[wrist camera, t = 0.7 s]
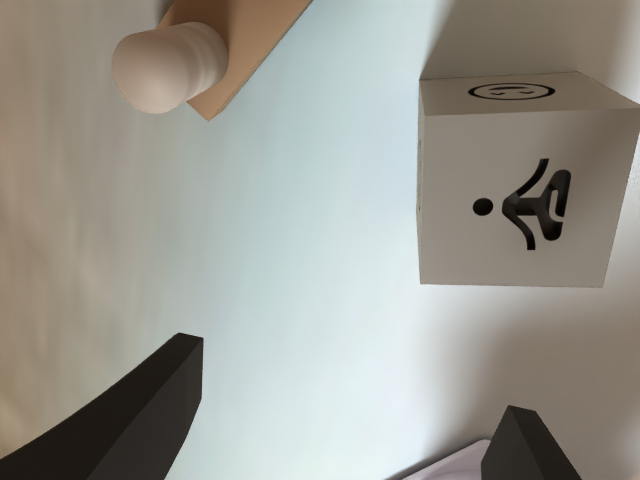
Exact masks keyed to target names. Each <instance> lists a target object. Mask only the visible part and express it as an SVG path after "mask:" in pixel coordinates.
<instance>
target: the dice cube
mask: <svg viewBox="0 0 640 480" xmlns="http://www.w3.org/2000/svg"><path fill="white" fill-rule="evenodd" d="M639 132H640V105H639V104H637V103H636V102H634V101H632V100H630V99H628V98H626V97H624V96H622V95H621V94H619V93H617V92H615V91H613V90H611V89H609V88H607V87H606V86H604V85H602V84H600V83H598V82H596V81H594V80H593V79H591V78H589V77H587V76H585V75H583V74H581V73H579V72H563V73H543V74H523V75H503V76H483V77H463V78H443V79H424V80H419V104H418V154H417V204H416V217H417V235H418V253H419V271H420V284H438V285H489V286H539V287H590V288H602V287H603V283H604V278H605V274H606V270H607V266H608V262H609V257H610V253H611V249H612V245H613V241H614V237H615V232H616V228H617V224H618V220H619V216H620V211H621V207H622V203H623V199H624V195H625V190H626V186H627V182H628V178H629V174H630V169H631V165H632V161H633V157H634V153H635V148H636V144H637V140H638V136H639Z"/></svg>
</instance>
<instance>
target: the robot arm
mask: <svg viewBox="0 0 640 480" xmlns="http://www.w3.org/2000/svg"><path fill="white" fill-rule="evenodd" d="M203 339H204V338H202V337H197V336H193V335H188V334H184V333H177V334H176V335H174V336H173V337H172V338H171V339H169V340H168V341H167V342H166V343H165V344H163V345H162V346H161V347H160V348H159V349H158V350H156V351H155V352H154V353H153V354H152V355H150V356H149V357H148V358H147V359H146V360H144V361H143V362H142V363H141V364H139V365H138V366H137V367H136V368H134V369H133V370H132V371H131V372H129V373H128V374H127V375H126V376H124V377H123V378H122V379H120V380H119V381H118V382H116V383H115V384H114V385H113V386H111V387H110V388H109V389H107V390H106V391H105V392H103V393H102V394H101V395H99V396H98V397H97V398H95V399H94V400H92V401H91V402H90V403H88V404H87V405H85V406H84V407H82V408H81V409H80V410H78V411H77V412H75V413H74V414H73V415H71V416H70V417H68V418H67V419H65V420H64V421H62V422H61V423H59V424H58V425H56V426H55V427H53V428H52V429H50V430H49V431H47V432H45V433H44V434H42V435H41V436H39V437H38V438H36V439H34V440H33V441H31V442H29V443H28V444H26V445H24V446H23V447H21V448H19V449H18V450H16V451H14V452H13V453H11V454H9V455H7V456H5V457H4V458H2V459H0V480H164V479H165V477H166V475H167V473H168V472H169V470H170V468H171V466H172V464H173V462H174V460H175V458H176V456H177V455H178V453H179V451H180V449H181V447H182V445H183V443H184V441H185V439H186V437H187V434H188V432H189V429H190V427H191V424H192V422H193V419H194V417H195V414H196V412H197V409H198V406H199V404H200V401H201V398H202V369H203ZM402 480H582V479H581V477H580V476H579V474H578V473H577V472H576V470H575V469H574V467H573V466H572V464H571V463H570V461H569V460H568V458H567V457H566V455H565V454H564V453H563V451H562V450H561V448H560V447H559V445H558V444H557V442H556V441H555V439H554V438H553V436H552V435H551V433H550V432H549V430H548V429H547V427H546V426H545V424H544V423H543V421H542V420H541V418H540V417H539V415H538V414H537V413H536V411H533V410H528V409H524V408H519V407H515V406H510V405H508V407H507V409H506V411H505V413H504V415H503V417H502V419H501V421H500V423H499V426H498V428H497V430H496V432H495V434H494V436H493V438H492V440H487V439H486V440H480V441H478V442H476V443H474V444H472V445H470V446H468V447H466V448H464V449H462V450H460V451H458V452H456V453H454V454H452V455H450V456H448V457H446V458H444V459H442V460H440V461H438V462H436V463H434V464H432V465H430V466H428V467H426V468H424V469H422V470H420V471H418V472H416V473H414V474H412V475H410V476H408V477H406V478H404V479H402Z"/></svg>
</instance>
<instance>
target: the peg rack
mask: <svg viewBox="0 0 640 480" xmlns="http://www.w3.org/2000/svg"><path fill="white" fill-rule="evenodd" d="M312 1H313V0H175V1H174V2H173V4H172V5H171V7H170V8H169V10H168V11H167V13H166V14H165V16H164V17H163V19H162V20H161V22H160V23H159V25H158V26H157V28H156V29H154V30H149V31H144V32H139V33H135V34H131V35H129V36H127V37H125V38H124V39H122V40H121V41H120V42H119V44H118V45H117V46H116V48H115V50H114V53H113V57H112V74H113V78H114V81H115V84H116V86H117V88H118V90H119V91H120V93H121V94H122V96H123V97H124V98H125V99H126V100H127V101H128V102H129V103H130V104H132V105H133V106H134V107H136V108H137V109H139V110H142V111H144V112H147V113H153V114H159V113H165V112H167V111H170V110H171V109H173V108H175V107H177V106H178V105H180V104H182V103H184V102H187V103H188V104H189V105H190V106H192V107H193V108H194V109H195V110H196V111H197V112H198V113H199V114H200V115H201V116H203V117H204V118H205V119H206V120H207V121H210V120H211V119H212V118H214V117H215V116H216V115H218V114H219V113H221V112H222V111H223V110H224V109H225V107H226V106H227V105H228V104H229V102H230V101H231V100H232V99H233V98H234V96H235V95H236V94H237V93H238V92H239V90H240V89H241V88H242V87H243V85H244V84H245V83H246V82H247V81H248V79H249V78H250V77H251V76H252V74H253V73H254V72H255V71H256V70H257V68H258V67H259V66H260V65H261V63H262V62H263V61H264V60H265V59H266V57H267V56H268V55H269V54H270V52H271V51H272V50H273V49H274V48H275V46H276V45H277V44H278V43H279V42H280V40H281V39H282V38H283V37H284V35H285V34H286V33H287V32H288V31H289V29H290V28H291V27H292V26H293V24H294V23H295V22H296V21H297V20H298V18H299V17H300V16H301V15H302V13H303V12H304V11H305V10H306V9H307V7H308V6H309V5H310V4H311V3H312Z"/></svg>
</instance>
